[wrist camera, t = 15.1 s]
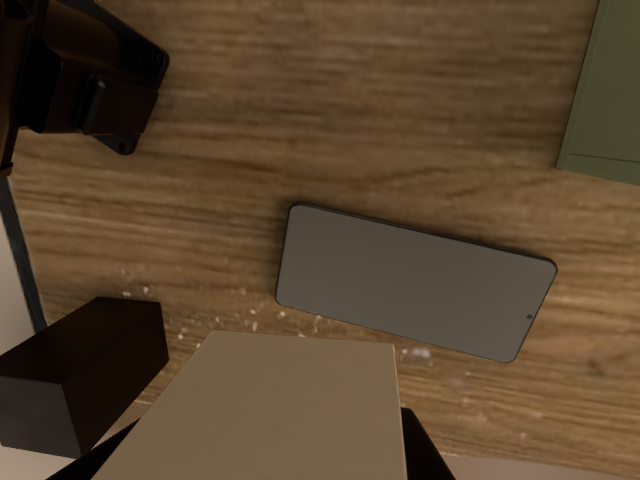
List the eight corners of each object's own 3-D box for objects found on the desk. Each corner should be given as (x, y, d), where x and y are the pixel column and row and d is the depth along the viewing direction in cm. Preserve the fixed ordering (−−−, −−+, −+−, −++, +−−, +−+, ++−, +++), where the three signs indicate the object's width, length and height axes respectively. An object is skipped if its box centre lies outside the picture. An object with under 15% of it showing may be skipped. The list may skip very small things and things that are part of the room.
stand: (109, 353, 26) (1, 446, 18) (97, 296, 24) (-28, 372, 16) (169, 361, 25) (82, 460, 17) (160, 302, 23) (59, 384, 16)
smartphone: (288, 200, 19) (564, 263, 17) (292, 197, 19) (555, 257, 18) (271, 305, 21) (513, 367, 20) (276, 298, 22) (507, 357, 20)
